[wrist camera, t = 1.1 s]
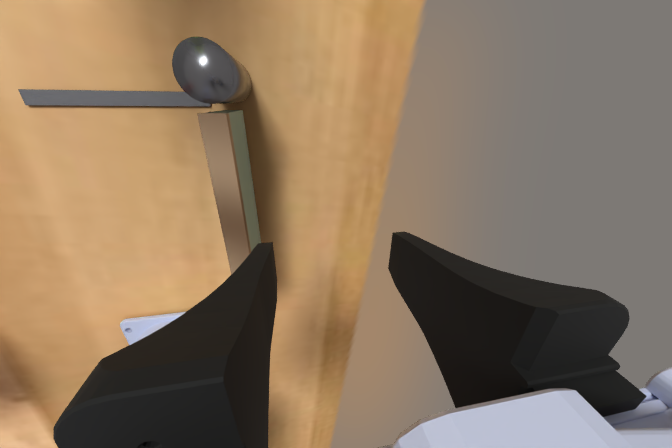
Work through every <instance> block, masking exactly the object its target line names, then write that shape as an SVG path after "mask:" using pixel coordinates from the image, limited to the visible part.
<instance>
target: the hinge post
mask: <svg viewBox="0 0 672 448" xmlns="http://www.w3.org/2000/svg"><path fill="white" fill-rule="evenodd" d="M172 67H173V72H174V75H175V78H176V80H177V82H178V84H179V85H180V86H181V88H182V89H183V90H184V91H185V92H186V93H187V94H188V95H189V96H190V97H192V98H194V99H195V100H197V101H200V102H203V103H209V104H215V103H239V102H242V101H244V100H245V99H246V98H247V97H248V96H249V94H250V92H251V87H252V83H251V78H250V75H249V73H248V71H247V70H246V69H245V68H244V66H242V65H241V64H240V63H239V62H238V61H237V60H235V59H234V58H233V57H232V56H231V55H230V54H228V53H227V52H226V51H225V50H224V49H222V48H221V47H220V46H219V45H218V44H216V43H215V42H213V41H211V40H209V39H207V38H203V37H190V38H187V39H185V40H183V41H182V42H181V43H180V44H179V45H178V46H177V47H176V49H175V51H174V54H173V59H172Z"/></svg>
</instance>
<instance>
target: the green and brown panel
mask: <svg viewBox="0 0 672 448" xmlns="http://www.w3.org/2000/svg"><path fill="white" fill-rule="evenodd" d="M197 115H198V120H199V124H200V129H201V134H202V138H203V143H204V148H205V152H206V157H207V162H208V167H209V171H210V176H211V181H212V185H213V190H214V195H215V199H216V204H217V209H218V213H219V218H220V223H221V228H222V232H223V237H224V242H225V246H226V251H227V256H228V260H229V265H230V270H231V274H233V273H234V272H235V270H236V269H237V268H238V267H239V266H240V265H241V264H242V263H243V261H244V260H245V259H246V258H247V257H248V255H249V254H250V253H251V252H252V250H253V249H254V248H255V246H256V245H257V244H258V243H261V238H260V230H259V223H258V216H257V209H256V202H255V195H254V187H253V180H252V173H251V166H250V159H249V152H248V145H247V137H246V130H245V123H244V116H243V110H223V111H215V112H208V113H198V114H197Z"/></svg>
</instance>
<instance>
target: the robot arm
mask: <svg viewBox="0 0 672 448" xmlns="http://www.w3.org/2000/svg"><path fill="white" fill-rule="evenodd" d="M388 269H389V271H390V273H391V276H392V278H393V281H394V283H395V285H396V287H397V289H398V291H399V292H400V294H401V296H402V297H403V299H404V301H405V303H406V304H407V306H408V308H409V309H410V311H411V312H412V314H413V316H414V317H415V319H416V321H417V322H418V324H419V326H420V328H421V329H422V331H423V333H424V335H425V337H426V339H427V342H428V344H429V346H430V348H431V350H432V352H433V354H434V357H435V359H436V361H437V364H438V366H439V368H440V370H441V373H442V375H443V377H444V380H445V382H446V385H447V387H448V390H449V392H450V395H451V397H452V400H453V402H454V405H455V407H456V408H455V409H450V410H445V411H442V412H440V413H437V414H434V415H431V416H428V417H426V418H423V419H420V420H419V421H417V422H416V423H414V424H413V425H411V426H410V427H409V428H407V429H406V430H404V431H403V432H401V433H400V435H399V436H398V438H397V439H396V441H395V442H394V444H392V445H387V446H383V447H379V448H672V367H670V368H666V369H663V370H660V371H659V372H657V373H656V374H654V375H653V376H652V377H651V378H650V379H649V381H648V382H647V383H646V387H644V388H640V389H638V388H636V387H635V386H634V385H633V384H631V383H630V382H629V381H628V380H627V379H625V378H624V377H623V376H622V375H620V374H619V373H618V372H617V371H615V370H618V369H619V368H620V365H619V363H618V362H616V361H615V360H614V359H613V358H611V357H610V356H609V355H608V354H609V352H610V351H611V350H612V348H613V347H614V346H615V344H616V343H617V341H618V340H619V339H620V337H621V336H622V334H623V333H624V331H625V329H626V328H627V326H628V322H629V312H628V310H627V308H626V307H625V306H624V305H623V304H621V303H619V302H618V301H616V300H614V299H613V298H611V297H609V296H608V295H606V294H604V293H602V292H600V291H597V290H592V289H585V288H579V287H572V286H566V285H559V284H554V283H549V282H544V281H539V280H534V279H530V278H526V277H521V276H518V275H514V274H510V273H507V272H503V271H499V270H496V269H493V268H490V267H487V266H484V265H481V264H478V263H475V262H472V261H470V260H467V259H465V258H462V257H460V256H457V255H455V254H453V253H450V252H448V251H446V250H444V249H442V248H439V247H437V246H435V245H433V244H431V243H429V242H427V241H425V240H423V239H421V238H419V237H417V236H414V235H412V234H410V233H407V232H396V233H393V235H392V243H391V251H390V259H389V268H388ZM276 303H277V276H276V267H275V259H274V250H273V242H270V243H258V244H257V245H256V246H255V248H254V249H253V250H252V252H251V253H250V254H249V255H248V257H247V258H246V259H245V260H244V261H243V263H242V264H241V265H240V266H239V267H238V268H237V269H236V270H235V272H234V273H233V274H232V275H231V276H230V277H229V278H228V279H227V280H226V281H225V282H224V283H223V284H222V285H221V286H219V287H218V288H217V289H216V290H215V291H214V292H212V293H211V294H210V295H209V296H208V297H206V298H205V299H204V300H202V301H201V302H200V303H198V304H197V305H195V306H194V307H193V308H191V309H190V310H188V311H187V312H180V313H172V314H163V315H155V316H146V317H138V318H129V319H124V320H123V321H122V322H121V323H120V327H121V329H122V331H123V333H124V335H125V337H126V339H127V341H128V343H129V346H127V347H125V348H123V349H121V350H119V351H117V352H115V353H113V354H112V355H109V356H107V357H105V358H103V359H102V360H101V361H100V362H99V363H98V365H97V366H96V367H95V369H94V370H93V371H92V373H91V374H90V375H89V377H88V378H87V380H86V381H85V382H84V384H83V385H82V387H81V388H80V389H79V391H78V392H77V394H76V395H75V396H74V398H73V399H72V401H71V402H70V403H69V405H68V406H67V408H66V409H65V410H64V412H63V413H62V415H61V416H60V418H59V419H58V421H57V423H56V424H55V426H54V440H55V443H56V444H57V446H58V448H268V408H269V370H270V350H271V341H272V334H273V326H274V318H275V311H276ZM129 328H130V329H129Z"/></svg>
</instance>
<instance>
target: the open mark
mask: <svg viewBox="0 0 672 448" xmlns="http://www.w3.org/2000/svg"><path fill="white" fill-rule="evenodd" d="M18 90H19V92H20V94H21V96H22V98H23V101H24V103H25V105H82V106H211V104H209V103H203V102H200V101H197V100H195V99H194V98H192V97H190V96H189V95H188V94H187V93H186V92H157V91H91V90H25V89H18Z"/></svg>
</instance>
